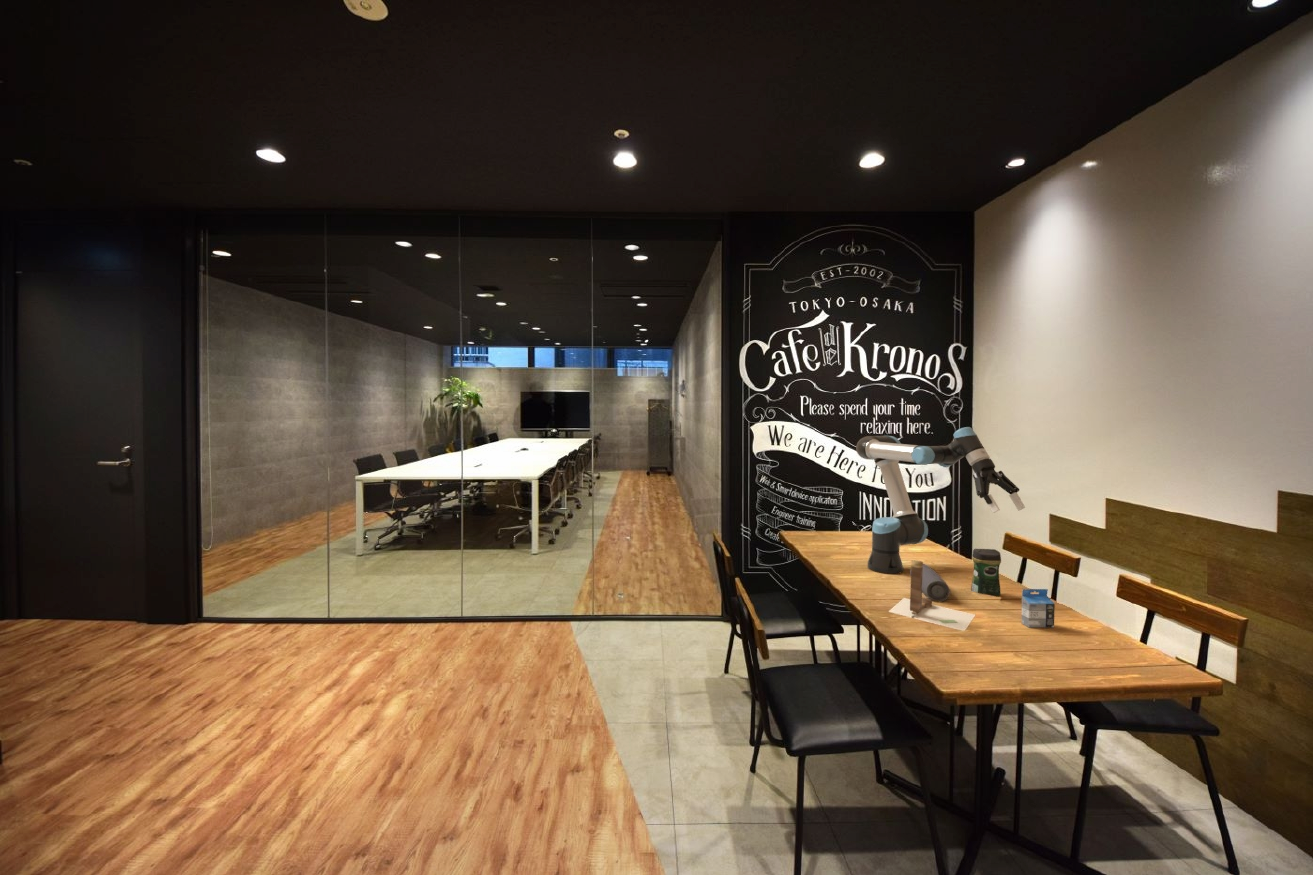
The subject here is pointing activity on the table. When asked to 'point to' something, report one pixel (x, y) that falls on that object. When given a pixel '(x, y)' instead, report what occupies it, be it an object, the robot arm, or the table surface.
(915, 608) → the wooden l-shaped block
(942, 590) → the bluetooth speaker
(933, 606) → the white flat sheet
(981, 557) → the coffee jar
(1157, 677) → the table surface
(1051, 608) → the label tape box
